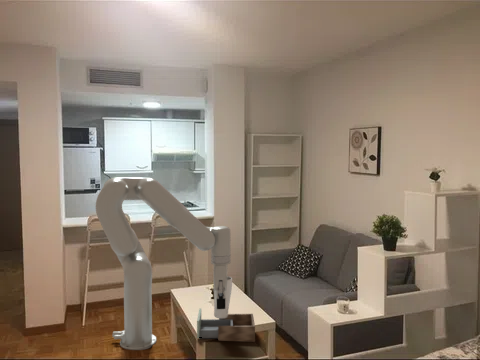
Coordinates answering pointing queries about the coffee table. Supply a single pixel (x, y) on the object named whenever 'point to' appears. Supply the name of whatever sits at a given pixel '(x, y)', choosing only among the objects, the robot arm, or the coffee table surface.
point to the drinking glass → (224, 312)
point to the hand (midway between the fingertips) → (221, 304)
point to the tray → (210, 326)
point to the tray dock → (238, 328)
